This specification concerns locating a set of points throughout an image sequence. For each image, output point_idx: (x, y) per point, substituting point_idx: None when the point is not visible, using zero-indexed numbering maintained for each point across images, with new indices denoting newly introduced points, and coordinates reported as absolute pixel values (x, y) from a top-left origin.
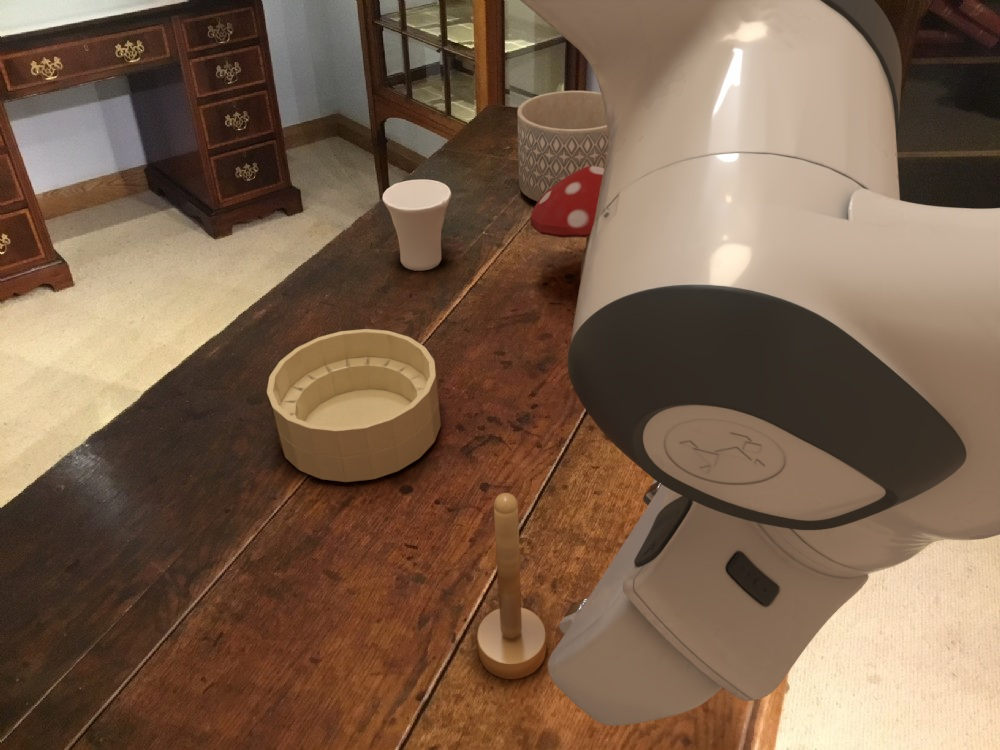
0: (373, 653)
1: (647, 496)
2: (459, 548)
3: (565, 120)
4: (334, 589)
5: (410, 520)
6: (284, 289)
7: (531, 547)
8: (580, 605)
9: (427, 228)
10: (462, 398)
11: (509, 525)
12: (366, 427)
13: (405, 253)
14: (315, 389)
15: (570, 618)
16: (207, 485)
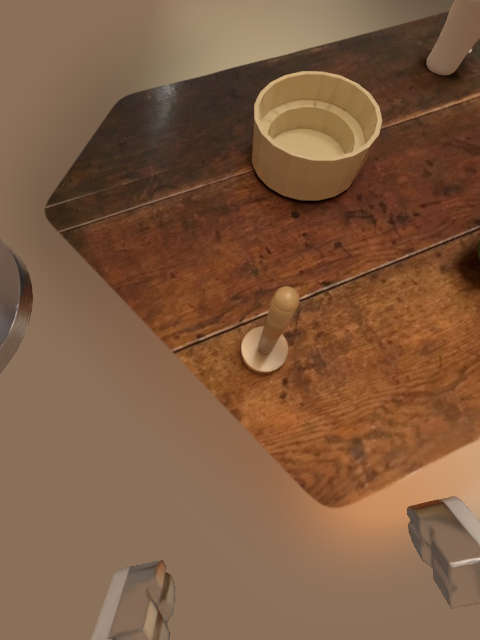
0: (199, 294)
1: (420, 523)
2: (290, 271)
3: None
4: (212, 244)
5: (281, 235)
6: (342, 40)
7: (328, 302)
8: (126, 629)
9: (469, 28)
10: (378, 179)
11: (277, 316)
12: (292, 155)
13: (435, 50)
14: (298, 114)
15: (97, 629)
16: (206, 141)
